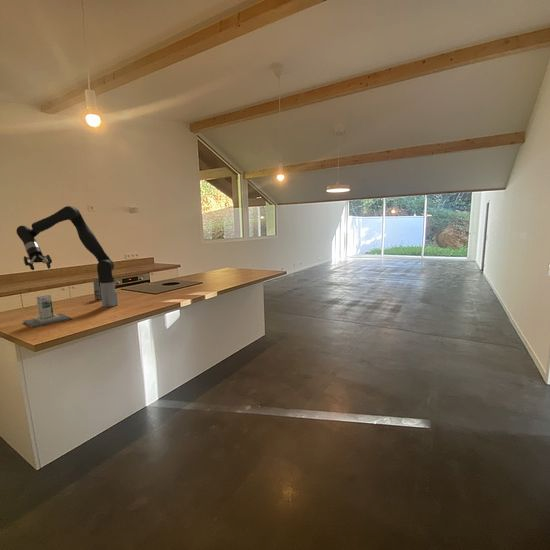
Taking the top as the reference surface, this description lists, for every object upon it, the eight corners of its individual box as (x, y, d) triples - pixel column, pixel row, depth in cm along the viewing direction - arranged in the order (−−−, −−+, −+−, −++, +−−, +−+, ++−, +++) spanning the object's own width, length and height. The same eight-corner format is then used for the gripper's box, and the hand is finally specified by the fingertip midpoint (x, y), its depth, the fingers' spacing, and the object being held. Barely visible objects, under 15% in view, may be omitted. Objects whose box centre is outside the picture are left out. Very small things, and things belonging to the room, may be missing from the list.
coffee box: (101, 300, 254) (99, 279, 252) (94, 299, 255) (92, 279, 253) (109, 297, 263) (107, 277, 261) (103, 297, 264) (100, 277, 262)
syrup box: (43, 321, 193) (40, 297, 191) (39, 319, 196) (36, 296, 194) (54, 318, 198) (51, 295, 195) (50, 317, 201) (47, 294, 199)
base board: (61, 315, 210) (60, 311, 210) (71, 319, 199) (71, 315, 199) (23, 322, 195) (22, 318, 195) (32, 327, 184) (32, 323, 183)
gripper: (20, 247, 205) (28, 265, 200) (46, 245, 216) (55, 263, 211) (19, 255, 209) (27, 273, 204) (45, 253, 220) (53, 271, 215)
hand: (41, 268), depth 207 cm, fingers open, 8 cm apart
